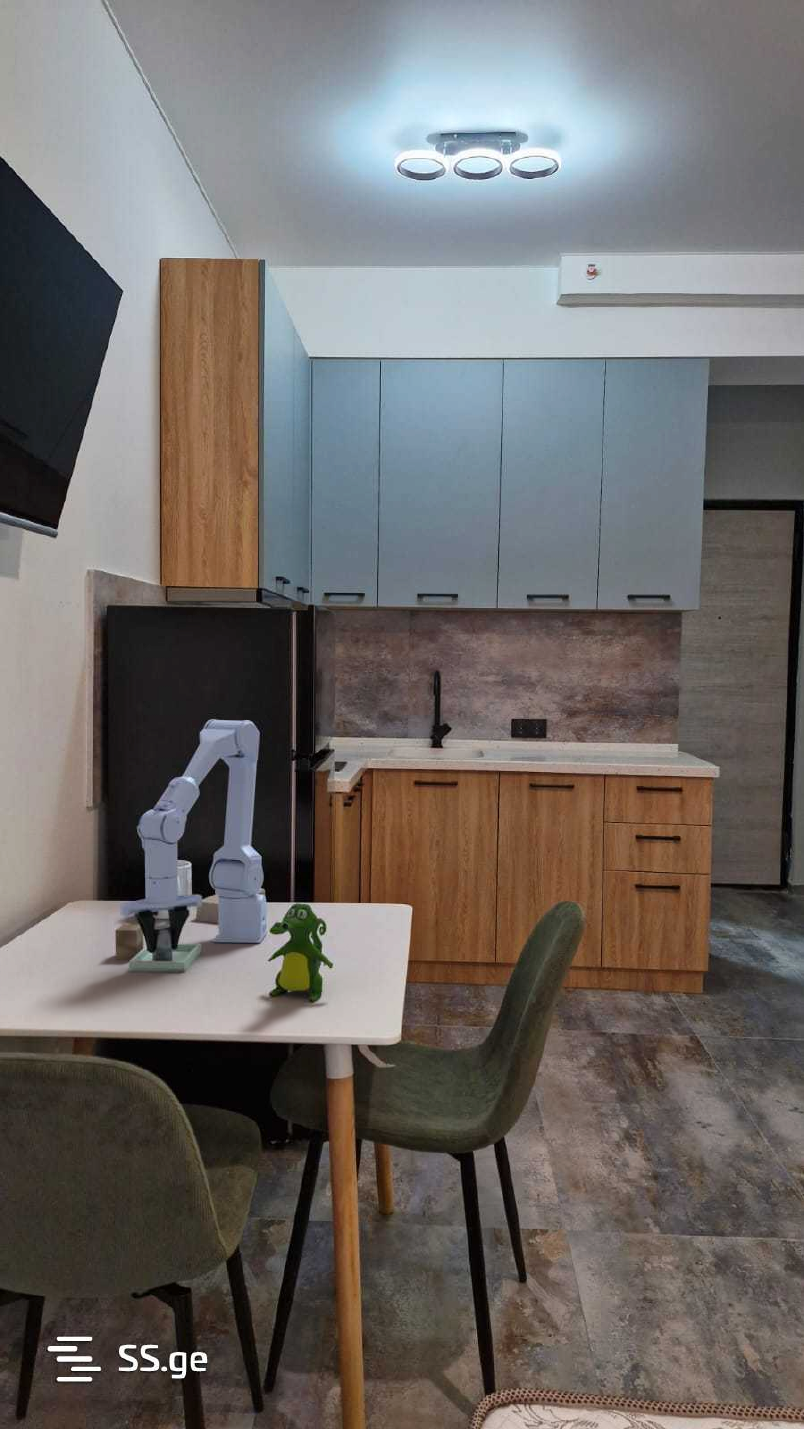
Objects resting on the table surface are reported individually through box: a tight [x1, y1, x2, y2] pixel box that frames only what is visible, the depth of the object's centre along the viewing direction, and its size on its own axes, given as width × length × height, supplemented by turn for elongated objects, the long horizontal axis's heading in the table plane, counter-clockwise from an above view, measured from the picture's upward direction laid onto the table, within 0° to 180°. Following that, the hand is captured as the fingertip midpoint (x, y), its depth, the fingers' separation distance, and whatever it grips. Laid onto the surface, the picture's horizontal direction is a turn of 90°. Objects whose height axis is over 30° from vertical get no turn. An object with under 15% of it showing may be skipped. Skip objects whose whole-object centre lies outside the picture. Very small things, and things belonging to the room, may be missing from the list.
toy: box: [267, 902, 334, 1002], centre depth 168 cm, size 12×19×15 cm, turn 160°
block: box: [114, 924, 144, 960], centre depth 190 cm, size 4×4×6 cm
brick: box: [195, 888, 266, 924], centre depth 223 cm, size 16×8×5 cm, turn 158°
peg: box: [152, 925, 173, 961], centre depth 183 cm, size 4×4×6 cm
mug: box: [151, 859, 193, 920], centre depth 221 cm, size 10×12×11 cm
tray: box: [128, 943, 202, 973], centre depth 186 cm, size 10×12×2 cm
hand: (162, 949), depth 183 cm, fingers open, 4 cm apart
